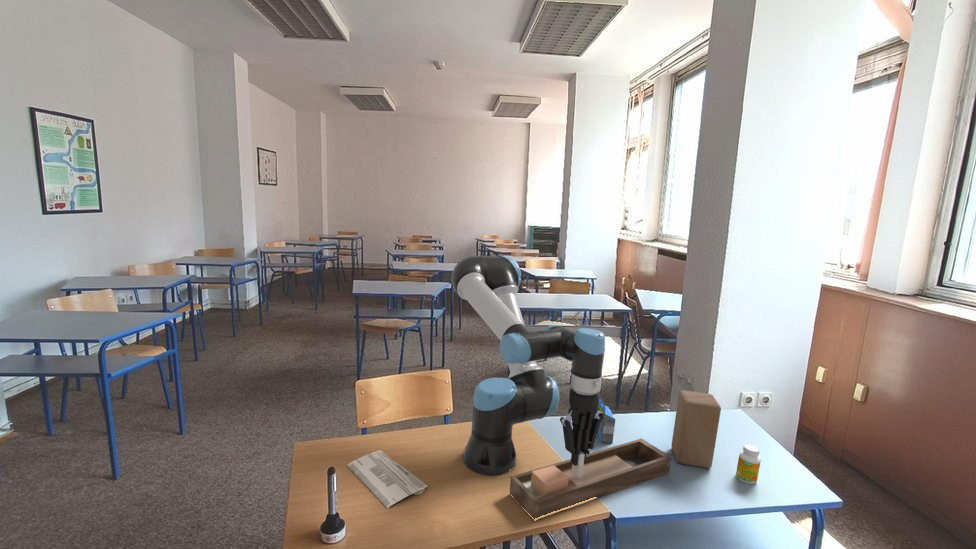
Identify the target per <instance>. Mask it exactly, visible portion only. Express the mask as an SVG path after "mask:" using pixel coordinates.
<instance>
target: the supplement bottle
mask: <svg viewBox="0 0 976 549" xmlns="http://www.w3.org/2000/svg"><path fill="white" fill-rule="evenodd" d="M759 455H760V448H758V447H757V446H756V445H753V444H749V443H748V444H747V443H746V444H743V448H742V450H741V451H740V452H739V455H738V460H737V465H736V466H737V467H736V469H735V470H736V472H735V477H736V478H737V479H738V480H739V481H741V482H743V483H744V484H748V485H749V484H750V485H754V484H757V481H758V478H759V472H760V467H761V461H762V459H761V457H760V456H759Z"/></svg>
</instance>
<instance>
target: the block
mask: <svg viewBox="0 0 976 549" xmlns="http://www.w3.org/2000/svg"><path fill="white" fill-rule="evenodd" d="M678 392H679V393H678V398H677V405H676V412H675V417H674V418H675V419H674V425H673V430H672V431H673V433H672V438H671V449H672V452H673V454H674V457H675V459H676V462H677V463H678V464H681V465H687V466H692V467H698V468H699V467H700V468H704V469H712V465H713V460H714V455H715V449H716V442H717V436H718V431H719V423H720V417H721V410H722V407H721V405H720V404H719V402H718V401H717V400H716V398H715V397H714V395H713V394H711V393H705V392H697V391H691V390H685V389H684V390H683V389H682V390H680V391H678Z"/></svg>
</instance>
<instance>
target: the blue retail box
mask: <svg viewBox="0 0 976 549" xmlns="http://www.w3.org/2000/svg"><path fill="white" fill-rule="evenodd" d="M597 409H598V411H600V412H601V413H603V414H604V417H603V419H602V421H601V423H600V426H599V430H598V433H597V436H598V438H599V440H600V442H601V443H605V444H606V443H607V444H613V442H614V432H615V427H616V426H615V425H616V418H615V416H614V414H613V413H612V411H611V409H610V407H609V406H607V405H605V403H604V401H603V400H602V398H601V397H600V399H599V406H598V407H597Z"/></svg>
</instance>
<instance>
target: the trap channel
mask: <svg viewBox="0 0 976 549" xmlns="http://www.w3.org/2000/svg"><path fill="white" fill-rule="evenodd" d="M671 461H672V456H671V455H669V454H668V453H666V452H664V451H663V450H662V449H660V448H659V447H656V446H654V445H653V444H651V443H650V442H649V441H647V440H644V438H642V437H641V438H638V439H635V440H631V441H628V442H625V443H621V444H618V445H614V446H611V447H608V448H604V449H601V450H597V451H593V452H591V453H589V454H586V461H585V463H584V466H583V476H582V477H581V478H577V477H576V476H575V475H573V474H572V473H571V472H572V463H571V458H570V459H567V460H563V461H559V462H556V463H553V464H549V465H547V466H542V467H539V468H535V469H531V470H529V471H525V472H522V473H517V474H514V475H512V476H510V483H509V484H510V485H509V493H510V494H511V495H512V496H513V497H514V499H515V500H516V501H517V502H518V503H519V504H520V505H521V506H522V507H523V508H524V509H525V510H526V511H527V512H528V513H529V514H530V515H531V516H532V517H533V518H534V519H535V518H538V517H540V516H542V515H546V514H548V513H551V512H553V511H557V510H560V509H562V508H565V507H568V506H571V505H574V504H576V503H579V502H582V501H585V500H588V499H590V498H593V497H597V498H598V499H600V498H603V497H606V496H609V495H612V494H613V493H614V494H615V493H616V492H619V491H622V490H626V489H628V488H630V487H633V486H636V485H637V486H638V485H639V484H641V483H645V482H647V481H649V480H650V481H651V480H653V479H655V478H659V477H662V476H664V475H666V474H670V470H671V463H672V462H671ZM552 465H554V466H555V467H557V468H558V469H559V470H560V471H561V472H562V473H564V474H565V475H566V476H567V477H568V487H567V489H565V490H562V491H559V492H556V493H553V494H550V495H547V496H544V497H541V496H540V495H539V494H538V493H537V492H536V491H535V490H534V489H533V488H532V487H531V476H532V471H535V470H539V469H542V468H545V467H549V466H552ZM510 494H509V495H510ZM511 495H510V496H511ZM512 496H511V497H512ZM514 499H513V500H514ZM515 500H514V501H515ZM516 501H515V502H516ZM517 502H516V503H517ZM518 503H517V504H518ZM519 504H518V505H519ZM520 505H519V506H520ZM521 506H520V507H521ZM522 507H521V508H522Z"/></svg>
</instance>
